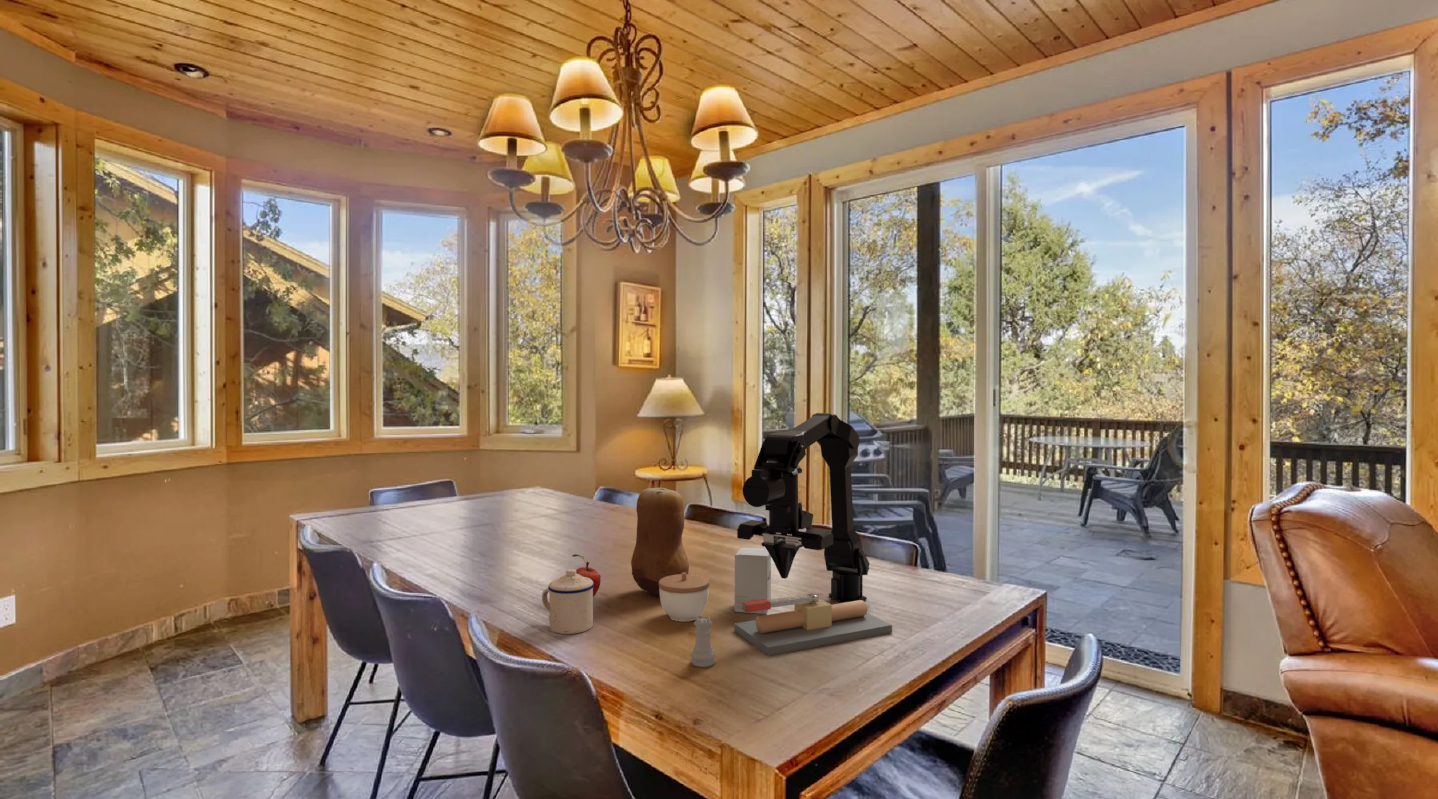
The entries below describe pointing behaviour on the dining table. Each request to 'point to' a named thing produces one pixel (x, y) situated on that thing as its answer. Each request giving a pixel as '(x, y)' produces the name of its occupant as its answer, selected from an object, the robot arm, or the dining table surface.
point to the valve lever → (778, 602)
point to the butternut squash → (658, 538)
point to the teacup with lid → (570, 603)
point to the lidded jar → (684, 596)
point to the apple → (589, 575)
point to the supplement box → (752, 577)
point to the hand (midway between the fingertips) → (784, 577)
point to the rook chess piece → (703, 644)
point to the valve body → (811, 626)
